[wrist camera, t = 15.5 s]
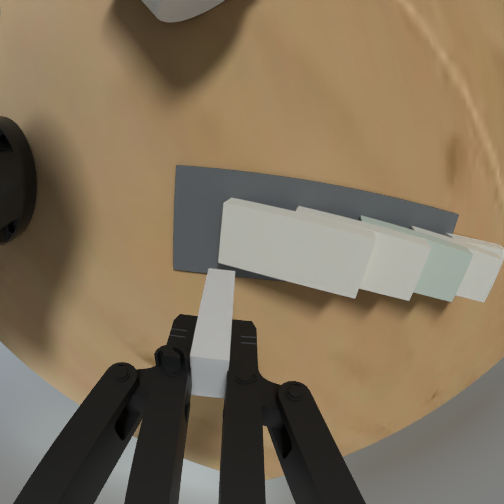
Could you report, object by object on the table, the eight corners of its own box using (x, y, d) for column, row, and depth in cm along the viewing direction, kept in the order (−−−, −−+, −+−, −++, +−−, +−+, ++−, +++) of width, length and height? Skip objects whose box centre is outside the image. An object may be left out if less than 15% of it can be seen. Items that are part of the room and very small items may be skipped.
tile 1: (218, 262, 24) (355, 298, 22) (223, 202, 22) (375, 239, 20) (225, 254, 26) (354, 287, 24) (231, 197, 24) (373, 231, 21)
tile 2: (283, 269, 25) (409, 301, 22) (295, 211, 22) (431, 247, 20) (287, 260, 26) (406, 290, 24) (298, 205, 24) (426, 239, 22)
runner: (174, 267, 27) (173, 269, 27) (177, 165, 22) (176, 165, 22) (427, 290, 29) (428, 292, 29) (457, 214, 25) (458, 215, 24)
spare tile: (345, 275, 25) (451, 302, 23) (361, 221, 23) (473, 254, 20) (346, 266, 27) (447, 292, 24) (360, 215, 24) (466, 247, 22)
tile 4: (398, 280, 26) (484, 302, 23) (415, 231, 23) (503, 260, 21) (395, 272, 27) (479, 294, 25) (411, 225, 25) (496, 253, 22)
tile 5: (437, 283, 26) (491, 285, 27) (455, 239, 24) (507, 250, 25) (429, 275, 28) (484, 279, 29) (445, 232, 25) (498, 244, 26)
